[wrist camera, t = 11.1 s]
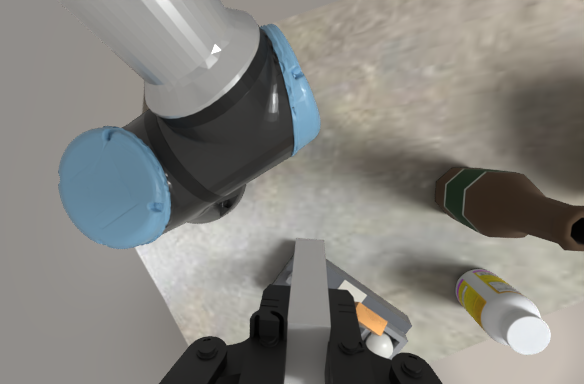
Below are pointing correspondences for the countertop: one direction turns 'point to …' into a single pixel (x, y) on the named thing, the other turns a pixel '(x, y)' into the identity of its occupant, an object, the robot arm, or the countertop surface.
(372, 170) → the countertop surface
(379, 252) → the countertop surface
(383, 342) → the push button
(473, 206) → the beer bottle
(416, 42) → the countertop surface
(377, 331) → the paddle lever
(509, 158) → the countertop surface
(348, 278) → the switch panel
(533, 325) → the supplement bottle
